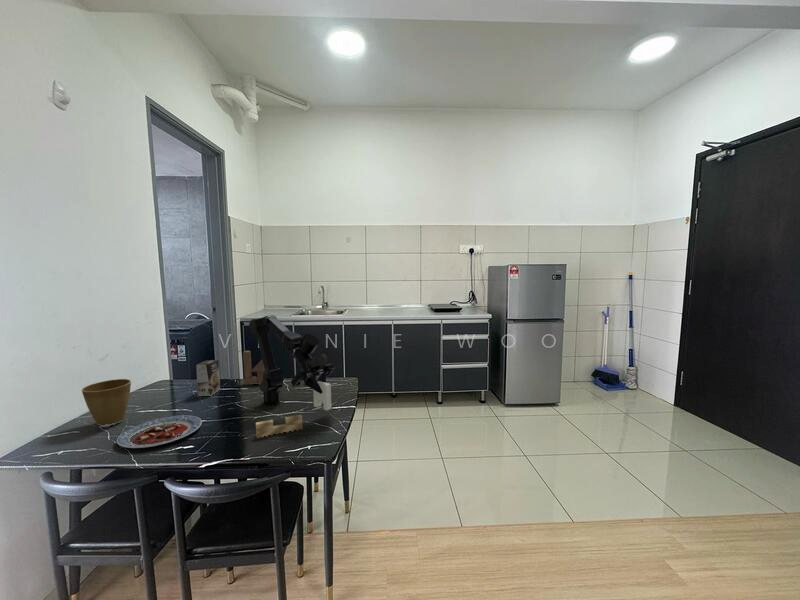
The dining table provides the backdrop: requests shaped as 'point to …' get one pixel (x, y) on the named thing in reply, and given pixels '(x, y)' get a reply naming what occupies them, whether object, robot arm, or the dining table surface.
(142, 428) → the ceramic plate
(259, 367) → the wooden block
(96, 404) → the plant pot
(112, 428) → the dining table surface
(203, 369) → the coffee box
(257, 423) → the notched base plate
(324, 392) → the grey tapered block
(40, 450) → the dining table surface
